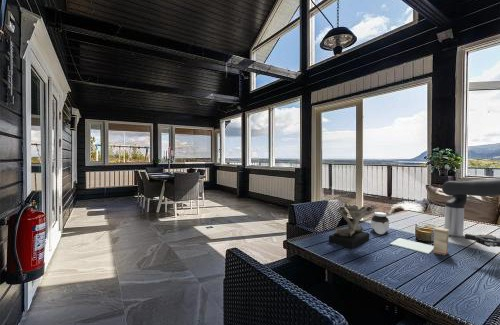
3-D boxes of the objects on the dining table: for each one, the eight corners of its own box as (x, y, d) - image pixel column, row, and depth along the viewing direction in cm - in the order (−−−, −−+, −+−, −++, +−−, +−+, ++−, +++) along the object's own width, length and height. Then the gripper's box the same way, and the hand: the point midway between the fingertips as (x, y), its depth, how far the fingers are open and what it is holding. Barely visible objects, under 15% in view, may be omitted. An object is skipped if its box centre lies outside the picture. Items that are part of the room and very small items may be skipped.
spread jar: (382, 229, 172) (383, 211, 171) (395, 234, 160) (395, 215, 160) (366, 229, 169) (366, 212, 169) (377, 235, 158) (378, 216, 158)
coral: (349, 232, 163) (350, 198, 162) (383, 241, 148) (384, 204, 147) (327, 241, 146) (328, 204, 145) (363, 252, 131) (364, 210, 130)
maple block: (435, 250, 135) (436, 227, 135) (447, 252, 132) (448, 229, 131) (433, 252, 132) (434, 229, 131) (445, 255, 128) (446, 231, 128)
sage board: (398, 238, 152) (399, 237, 152) (435, 247, 139) (435, 246, 139) (389, 244, 143) (389, 243, 143) (428, 254, 130) (428, 253, 130)
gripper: (518, 234, 116) (467, 225, 129) (516, 240, 107) (462, 231, 120) (517, 250, 116) (467, 240, 129) (515, 258, 107) (462, 247, 120)
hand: (465, 236), depth 124 cm, fingers closed
